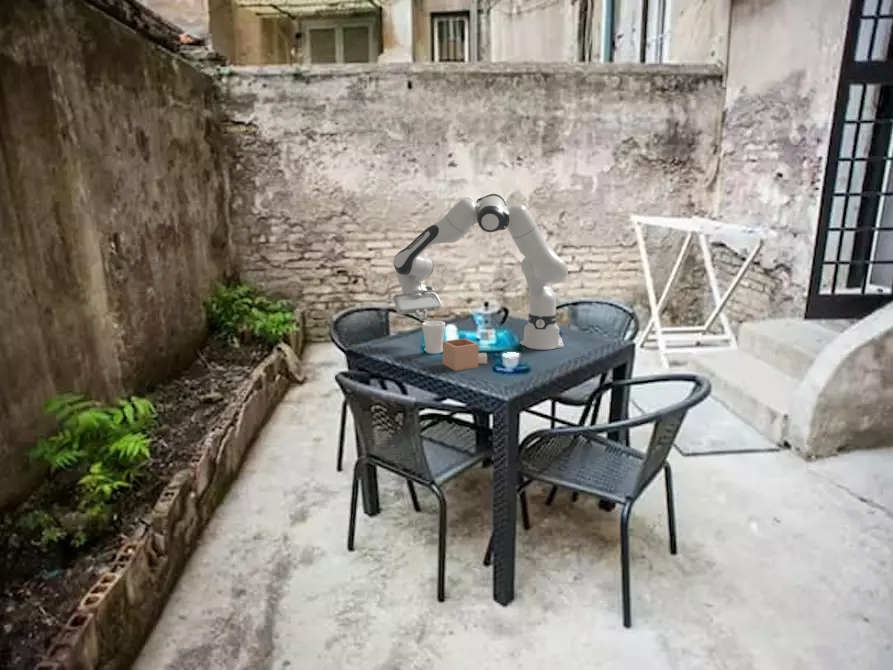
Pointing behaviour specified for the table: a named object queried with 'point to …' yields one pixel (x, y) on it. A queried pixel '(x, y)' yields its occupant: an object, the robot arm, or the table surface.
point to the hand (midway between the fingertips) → (423, 319)
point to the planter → (460, 354)
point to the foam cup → (433, 336)
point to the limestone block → (482, 358)
